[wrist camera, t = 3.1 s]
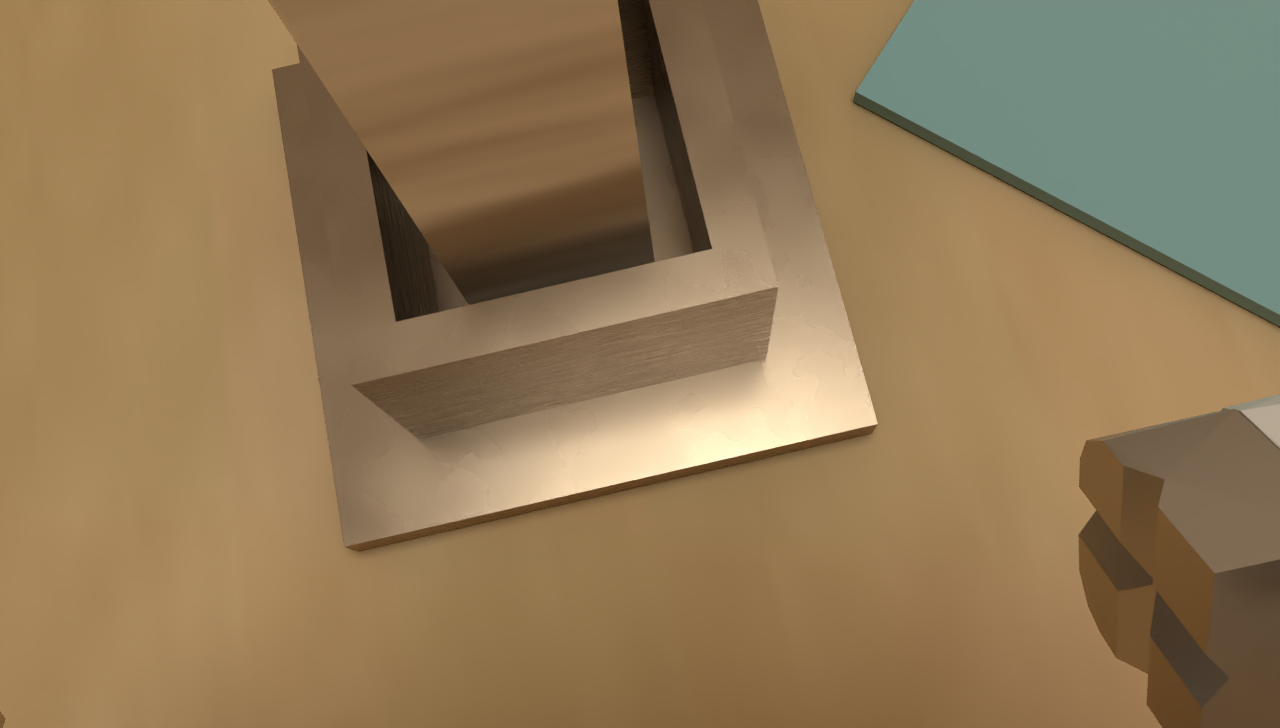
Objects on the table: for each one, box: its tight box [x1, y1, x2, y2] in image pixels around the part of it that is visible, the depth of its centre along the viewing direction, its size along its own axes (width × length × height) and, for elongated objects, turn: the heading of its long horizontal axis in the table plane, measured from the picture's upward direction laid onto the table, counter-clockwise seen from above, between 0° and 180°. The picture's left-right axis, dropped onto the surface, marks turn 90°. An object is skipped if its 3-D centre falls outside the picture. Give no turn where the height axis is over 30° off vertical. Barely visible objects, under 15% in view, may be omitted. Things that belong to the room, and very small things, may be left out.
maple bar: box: [268, 0, 655, 305], centre depth 20 cm, size 4×4×14 cm
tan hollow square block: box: [272, 0, 878, 551], centre depth 25 cm, size 12×12×6 cm
